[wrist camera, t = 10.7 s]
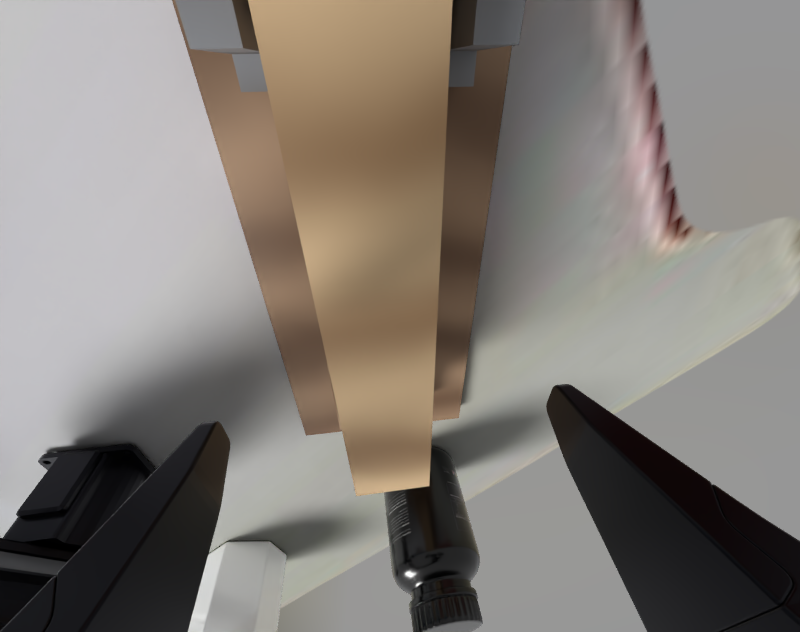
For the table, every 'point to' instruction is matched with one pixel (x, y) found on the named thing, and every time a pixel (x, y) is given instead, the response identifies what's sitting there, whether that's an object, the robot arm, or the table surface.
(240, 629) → the jar
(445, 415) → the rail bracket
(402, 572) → the supplement bottle
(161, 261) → the table surface
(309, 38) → the oak rail
